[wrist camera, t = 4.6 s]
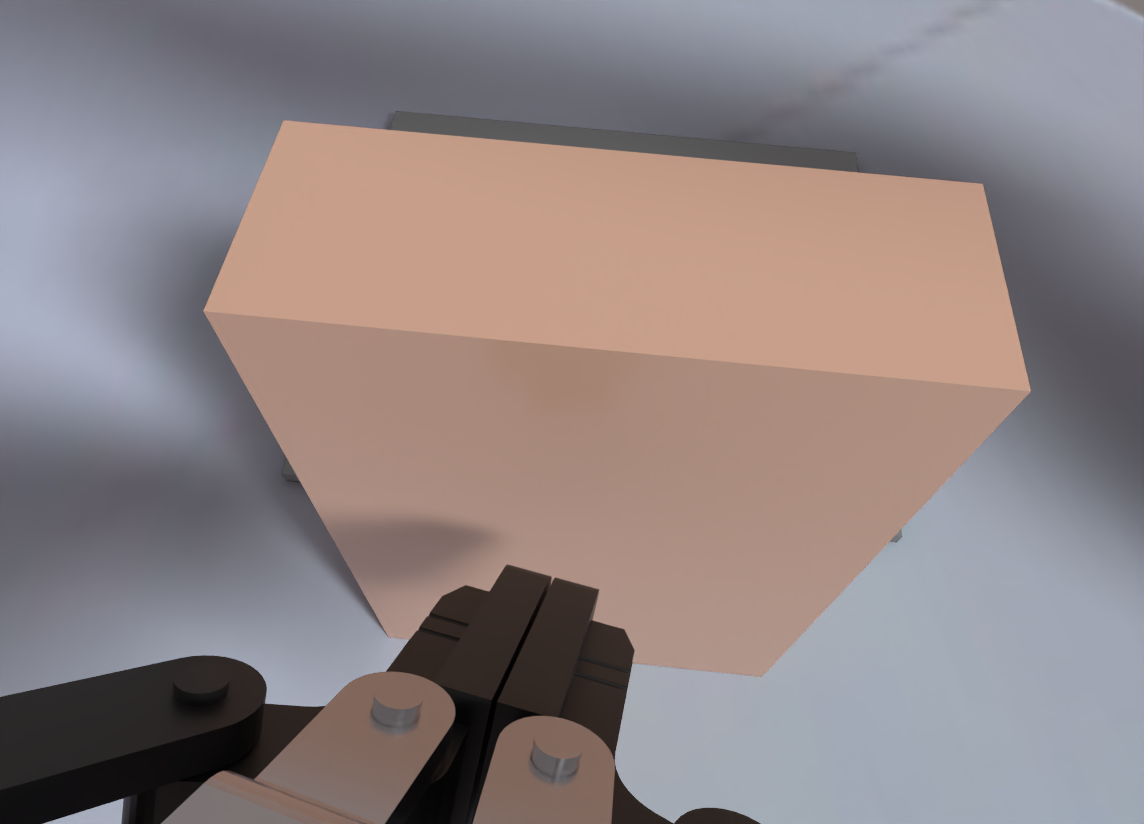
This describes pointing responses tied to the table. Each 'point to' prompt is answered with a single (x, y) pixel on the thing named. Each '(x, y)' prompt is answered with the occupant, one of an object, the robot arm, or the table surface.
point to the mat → (619, 143)
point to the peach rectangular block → (615, 371)
